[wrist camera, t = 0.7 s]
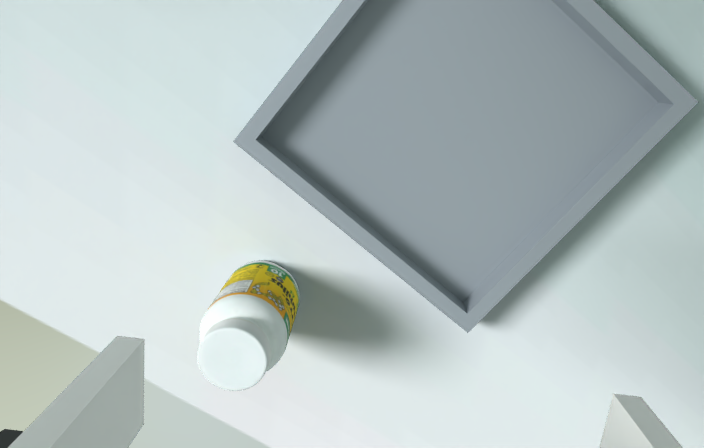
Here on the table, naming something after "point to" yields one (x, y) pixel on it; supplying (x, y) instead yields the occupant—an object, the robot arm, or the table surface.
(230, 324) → the supplement bottle
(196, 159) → the table surface
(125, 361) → the robot arm
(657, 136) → the slate tray
